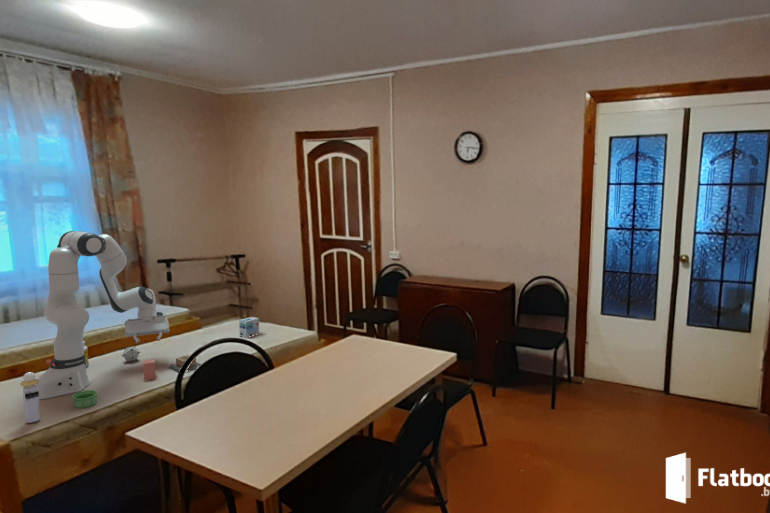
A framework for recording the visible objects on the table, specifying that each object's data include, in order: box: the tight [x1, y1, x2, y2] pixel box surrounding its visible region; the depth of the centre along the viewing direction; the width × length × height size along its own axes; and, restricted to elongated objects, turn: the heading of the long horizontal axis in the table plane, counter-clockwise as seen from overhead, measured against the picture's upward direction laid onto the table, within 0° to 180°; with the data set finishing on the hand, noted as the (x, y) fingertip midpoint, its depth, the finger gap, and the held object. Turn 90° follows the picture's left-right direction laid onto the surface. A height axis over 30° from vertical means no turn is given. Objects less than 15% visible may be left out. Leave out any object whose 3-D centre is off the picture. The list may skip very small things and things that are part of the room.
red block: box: [142, 358, 156, 381], centre depth 229 cm, size 5×5×8 cm
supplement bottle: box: [83, 340, 89, 368], centre depth 242 cm, size 7×7×13 cm
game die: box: [121, 345, 141, 364], centre depth 251 cm, size 9×8×10 cm
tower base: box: [168, 354, 202, 373], centre depth 243 cm, size 12×12×5 cm
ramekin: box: [71, 389, 99, 409], centre depth 200 cm, size 9×9×4 cm
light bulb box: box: [238, 316, 260, 338], centre depth 298 cm, size 11×7×11 cm, turn 147°
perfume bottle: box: [19, 371, 41, 424], centre depth 183 cm, size 6×6×20 cm
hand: (148, 341), depth 239 cm, fingers open, 8 cm apart
